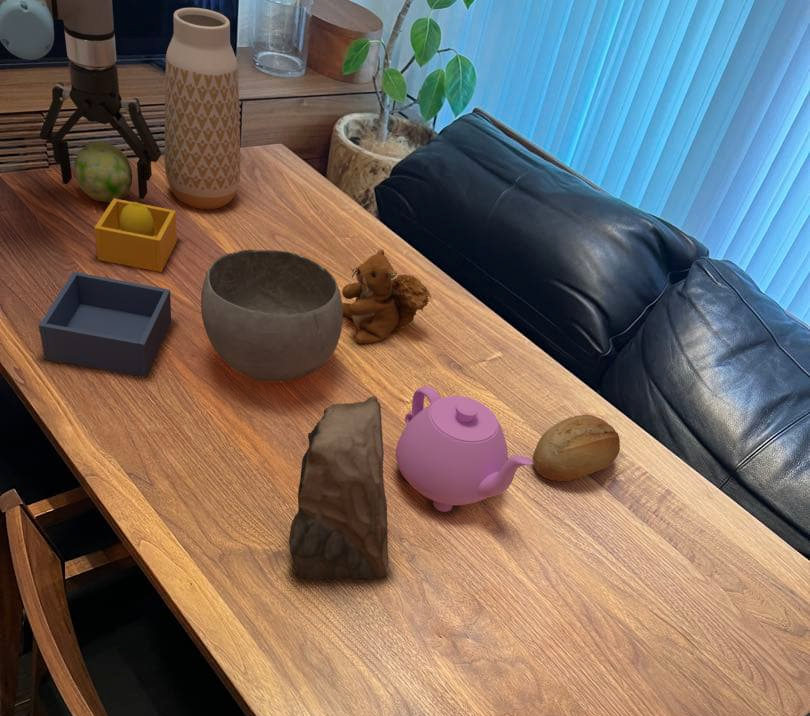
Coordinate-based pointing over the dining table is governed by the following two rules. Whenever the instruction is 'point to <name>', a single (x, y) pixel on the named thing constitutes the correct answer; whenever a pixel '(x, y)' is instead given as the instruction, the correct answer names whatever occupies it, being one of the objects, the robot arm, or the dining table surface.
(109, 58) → the robot arm
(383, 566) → the jagged boulder chunk
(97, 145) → the decorative ball
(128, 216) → the lemon
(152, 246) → the yellow bin
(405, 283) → the stuffed squirrel
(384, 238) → the dining table surface
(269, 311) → the bowl
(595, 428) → the bread roll
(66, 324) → the blue bin
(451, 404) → the teapot
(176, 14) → the vase
